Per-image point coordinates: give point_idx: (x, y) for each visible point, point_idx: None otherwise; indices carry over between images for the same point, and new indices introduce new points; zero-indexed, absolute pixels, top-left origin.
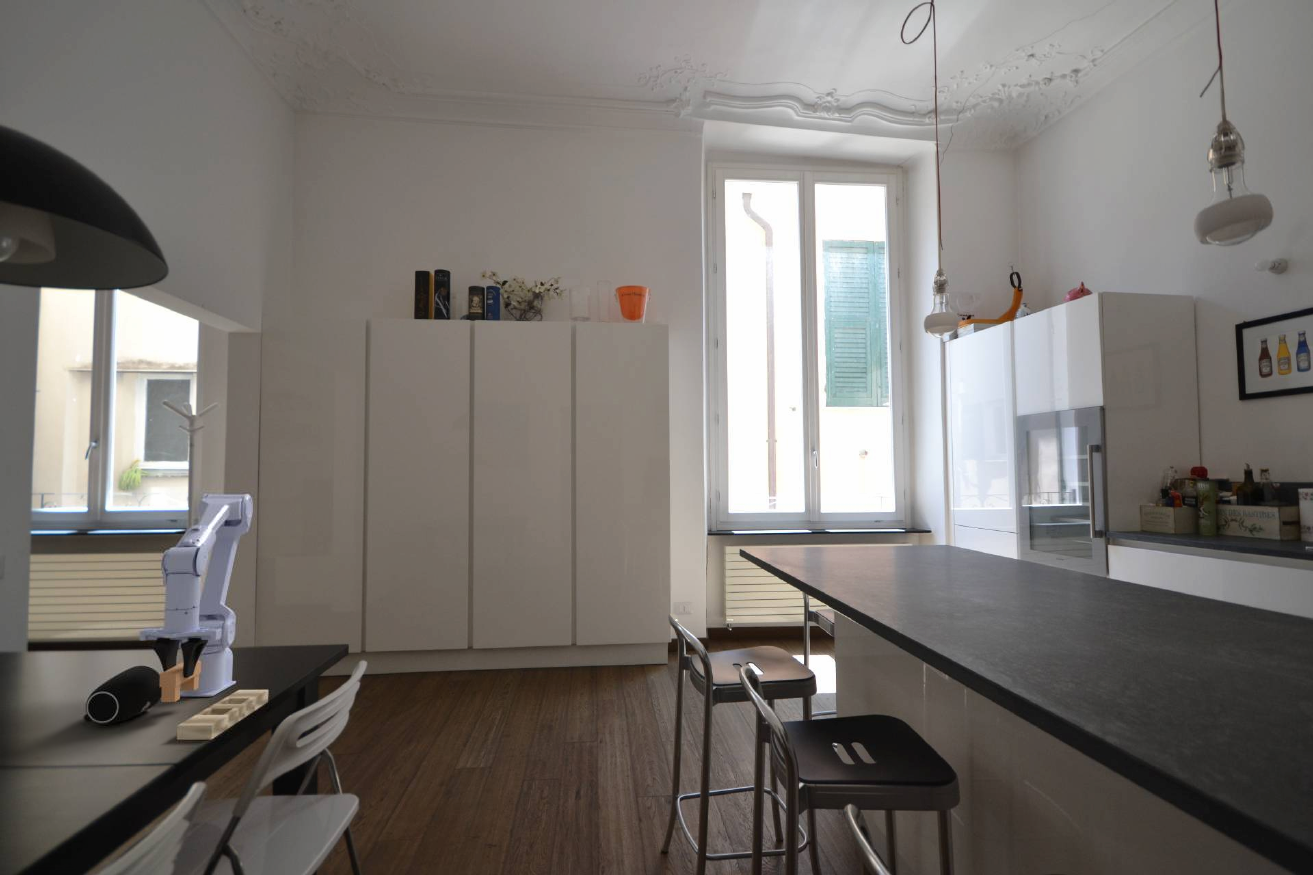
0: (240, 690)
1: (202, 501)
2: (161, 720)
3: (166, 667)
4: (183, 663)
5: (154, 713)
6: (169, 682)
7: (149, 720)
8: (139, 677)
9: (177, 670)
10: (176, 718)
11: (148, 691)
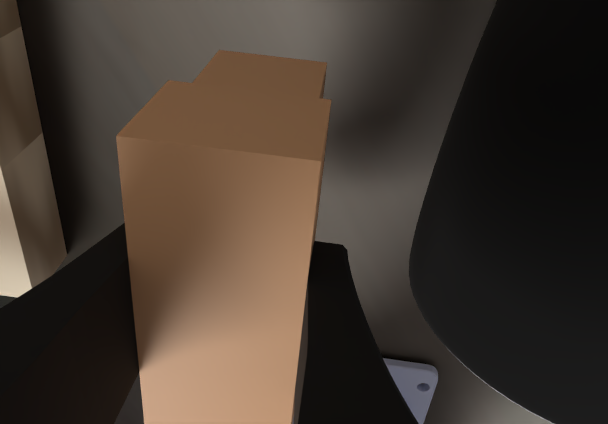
0: (18, 289)
1: None
2: (322, 5)
3: (313, 302)
4: (85, 303)
5: (430, 147)
6: (219, 102)
7: (403, 16)
8: (586, 228)
9: (185, 256)
10: (244, 33)
11: (460, 146)
